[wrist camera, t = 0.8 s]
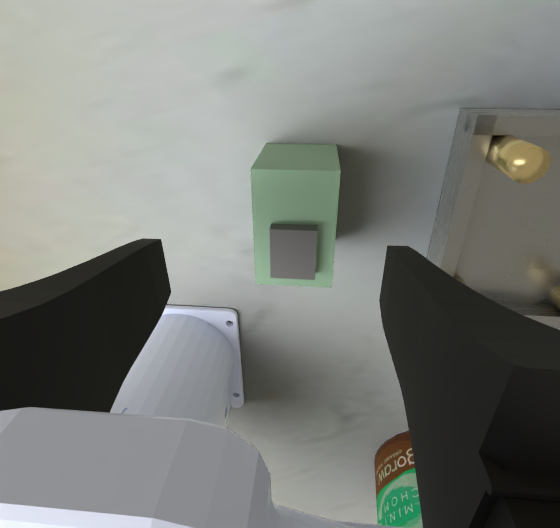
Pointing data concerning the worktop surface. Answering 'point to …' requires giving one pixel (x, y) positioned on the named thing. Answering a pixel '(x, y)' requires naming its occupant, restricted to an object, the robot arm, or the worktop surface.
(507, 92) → the worktop surface
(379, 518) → the food container
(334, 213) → the block
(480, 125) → the chassis
